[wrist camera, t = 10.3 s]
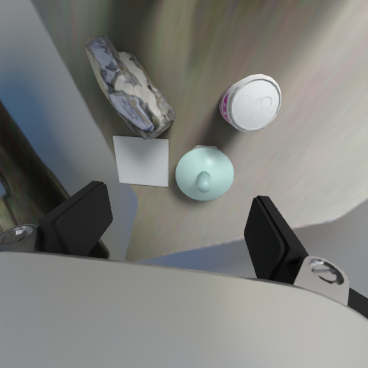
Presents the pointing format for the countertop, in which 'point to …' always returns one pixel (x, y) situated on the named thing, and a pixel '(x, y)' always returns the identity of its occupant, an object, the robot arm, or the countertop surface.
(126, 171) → the mat
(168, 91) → the countertop surface
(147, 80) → the fossil rock
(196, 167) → the lid
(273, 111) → the supplement can
